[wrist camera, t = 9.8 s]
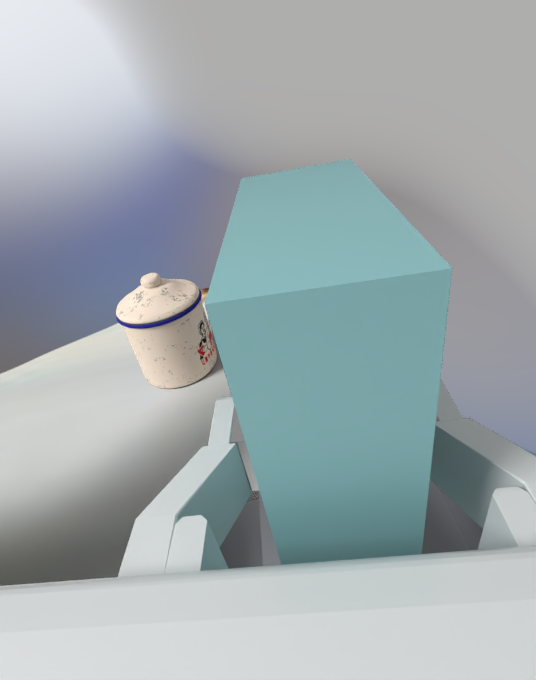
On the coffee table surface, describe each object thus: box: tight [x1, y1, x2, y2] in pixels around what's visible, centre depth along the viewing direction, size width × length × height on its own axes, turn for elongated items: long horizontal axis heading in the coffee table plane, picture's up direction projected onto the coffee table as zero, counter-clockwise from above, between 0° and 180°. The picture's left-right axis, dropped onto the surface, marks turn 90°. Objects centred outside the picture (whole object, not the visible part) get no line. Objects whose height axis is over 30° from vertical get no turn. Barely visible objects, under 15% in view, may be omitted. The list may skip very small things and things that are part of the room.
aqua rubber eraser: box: [205, 159, 452, 565], centre depth 10 cm, size 2×6×12 cm, turn 179°
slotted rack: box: [220, 480, 483, 569], centre depth 21 cm, size 20×16×5 cm
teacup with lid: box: [116, 273, 217, 389], centre depth 44 cm, size 12×9×12 cm
